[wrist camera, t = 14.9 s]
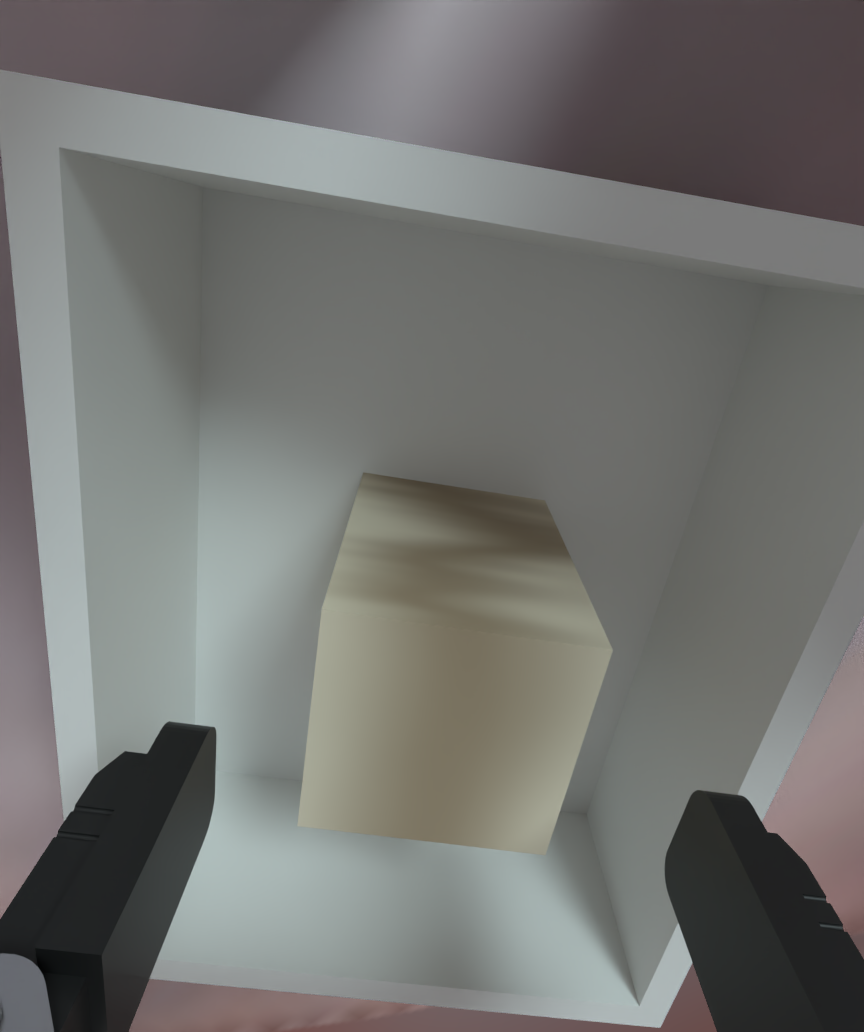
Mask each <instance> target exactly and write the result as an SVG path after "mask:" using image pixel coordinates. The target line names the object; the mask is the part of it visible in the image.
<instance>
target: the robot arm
mask: <svg viewBox="0 0 864 1032" xmlns="http://www.w3.org/2000/svg"><path fill="white" fill-rule="evenodd" d="M215 775H216V729H215V727H210V726H203V725H195V724H187V723H179V722H171V721H169V722H167V723H165V725H164V726H163V727H162V729H161V730H160V732H159V734H158V736H157V737H156V739H155V741H154V743H153V744H152V746H151V748H150V749H149V751H148V753H147V754H144V753H136V752H128V751H124V752H123V753H122V754H121V755H119V756H118V757H117V758H115V759H114V760H113V761H112V762H110V763H109V764H108V765H107V766H105V767H104V768H103V769H102V770H100V771H99V772H98V773H97V774H95V775H94V777H93V778H92V780H91V781H90V783H89V784H88V786H87V787H86V789H85V791H84V792H83V794H82V795H81V797H80V798H79V800H78V801H77V803H76V804H75V808H74V810H73V811H71V812H70V813H69V815H68V817H67V818H66V820H65V821H64V823H63V824H62V826H61V827H60V829H59V830H58V834H57V837H56V838H55V837H54V838H53V839H52V841H51V843H50V844H49V846H48V847H47V849H46V850H45V852H44V853H43V855H42V856H41V858H40V859H39V861H38V862H37V864H36V865H35V867H34V869H33V870H32V872H31V873H30V875H29V876H28V878H27V879H26V881H25V882H24V884H23V885H22V887H21V888H20V890H19V891H18V893H17V894H16V896H15V898H14V899H13V901H12V902H11V904H10V905H9V907H8V908H7V910H6V911H5V913H4V914H3V916H2V917H1V919H0V1032H128V1031H129V1029H130V1026H131V1024H132V1021H133V1019H134V1016H135V1014H136V1011H137V1009H138V1006H139V1003H140V1001H141V998H142V996H143V993H144V991H145V988H146V986H147V983H148V981H149V978H150V976H151V973H152V971H153V968H154V966H155V963H156V961H157V958H158V956H159V953H160V950H161V948H162V945H163V943H164V940H165V938H166V935H167V933H168V930H169V928H170V925H171V923H172V920H173V918H174V915H175V913H176V910H177V908H178V905H179V903H180V900H181V898H182V895H183V892H184V890H185V887H186V885H187V882H188V880H189V877H190V875H191V872H192V870H193V867H194V865H195V862H196V860H197V857H198V855H199V852H200V850H201V847H202V845H203V842H204V839H205V837H206V834H207V831H208V828H209V824H210V820H211V816H212V812H213V806H214V799H215ZM665 882H666V887H667V892H668V895H669V898H670V901H671V903H672V906H673V909H674V912H675V915H676V917H677V920H678V923H679V926H680V929H681V931H682V934H683V937H684V940H685V943H686V946H687V948H688V951H689V954H690V957H691V960H692V962H693V965H694V968H695V970H696V974H697V976H698V979H699V982H700V985H701V988H702V990H703V993H704V996H705V999H706V1001H707V1004H708V1007H709V1010H710V1013H711V1016H712V1018H713V1021H714V1024H715V1027H716V1029H717V1032H864V959H863V958H862V956H861V954H860V952H859V951H858V949H857V947H856V946H855V944H854V942H853V941H852V939H851V937H850V936H849V934H848V932H844V930H843V924H842V922H841V921H840V919H839V917H838V916H837V914H836V912H835V911H834V909H833V907H832V906H831V904H830V903H827V902H826V896H825V894H824V892H823V891H822V889H821V887H820V886H819V884H818V882H817V881H816V879H815V877H814V876H813V874H812V872H811V871H810V869H809V867H808V866H807V864H806V863H805V862H804V861H803V860H802V859H801V858H800V857H799V856H798V855H797V853H796V852H795V851H794V850H793V849H792V848H791V847H790V846H789V845H788V844H787V843H786V842H785V841H784V840H783V839H782V838H781V837H780V836H779V835H778V834H776V833H768V832H767V831H766V829H765V827H764V825H763V824H762V822H761V820H760V818H759V816H758V815H757V813H756V811H755V809H754V808H753V806H752V804H751V803H750V802H749V800H748V799H747V798H745V797H744V796H741V795H734V794H726V793H718V792H710V791H703V790H697V791H695V792H693V793H692V795H691V796H690V798H689V800H688V803H687V805H686V808H685V810H684V812H683V815H682V817H681V819H680V822H679V824H678V827H677V829H676V831H675V834H674V836H673V838H672V841H671V843H670V845H669V848H668V850H667V853H666V858H665Z"/></svg>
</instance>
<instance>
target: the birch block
mask: <svg viewBox="0 0 864 1032" xmlns="http://www.w3.org/2000/svg"><path fill="white" fill-rule="evenodd" d="M612 652H613V649H612V647H611V645H610V642H609V640H608V638H607V636H606V634H605V631H604V629H603V627H602V625H601V623H600V620H599V618H598V616H597V614H596V612H595V609H594V607H593V605H592V603H591V601H590V598H589V596H588V594H587V592H586V590H585V587H584V585H583V583H582V581H581V579H580V576H579V574H578V572H577V570H576V568H575V565H574V563H573V561H572V559H571V557H570V555H569V552H568V550H567V548H566V546H565V544H564V541H563V539H562V537H561V535H560V533H559V530H558V528H557V526H556V524H555V522H554V519H553V517H552V515H551V513H550V511H549V508H548V506H547V504H546V502H545V500H538V499H532V498H525V497H519V496H513V495H506V494H500V493H493V492H487V491H480V490H474V489H467V488H461V487H454V486H448V485H442V484H435V483H429V482H422V481H416V480H409V479H403V478H396V477H390V476H383V475H377V474H371V473H364V472H363V475H362V478H361V482H360V485H359V488H358V492H357V495H356V498H355V501H354V505H353V508H352V511H351V515H350V518H349V521H348V524H347V528H346V531H345V534H344V537H343V541H342V544H341V547H340V551H339V554H338V557H337V560H336V564H335V567H334V570H333V574H332V577H331V580H330V583H329V587H328V590H327V593H326V597H325V600H324V603H323V606H322V611H321V619H320V628H319V637H318V646H317V655H316V664H315V673H314V682H313V691H312V700H311V709H310V717H309V726H308V735H307V744H306V753H305V762H304V771H303V780H302V789H301V798H300V807H299V815H298V824H297V826H300V827H309V828H317V829H326V830H334V831H343V832H351V833H360V834H368V835H377V836H385V837H394V838H402V839H411V840H419V841H428V842H436V843H445V844H453V845H462V846H470V847H479V848H487V849H496V850H505V851H513V852H522V853H530V854H539V855H546V852H547V849H548V846H549V843H550V840H551V837H552V834H553V831H554V828H555V825H556V822H557V819H558V815H559V812H560V809H561V806H562V803H563V800H564V797H565V794H566V791H567V788H568V785H569V782H570V779H571V776H572V773H573V770H574V767H575V764H576V761H577V758H578V755H579V752H580V749H581V746H582V743H583V740H584V737H585V734H586V731H587V728H588V725H589V722H590V718H591V715H592V712H593V709H594V706H595V703H596V700H597V697H598V694H599V691H600V688H601V685H602V682H603V679H604V676H605V673H606V670H607V667H608V664H609V661H610V658H611V655H612Z"/></svg>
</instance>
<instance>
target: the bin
mask: <svg viewBox="0 0 864 1032" xmlns="http://www.w3.org/2000/svg"><path fill="white" fill-rule="evenodd" d="M0 150H1V160H2V171H3V181H4V192H5V203H6V213H7V224H8V234H9V245H10V256H11V266H12V277H13V287H14V298H15V309H16V319H17V330H18V340H19V351H20V362H21V372H22V383H23V393H24V404H25V415H26V425H27V436H28V447H29V457H30V468H31V478H32V489H33V500H34V510H35V521H36V531H37V542H38V553H39V563H40V574H41V584H42V595H43V606H44V616H45V627H46V637H47V648H48V659H49V669H50V680H51V690H52V701H53V712H54V722H55V733H56V743H57V754H58V765H59V775H60V786H61V796H62V807H63V818H64V821H65V820H66V818H67V817H68V815H69V813H70V812H71V811H73V810H74V808H75V804H76V803H77V801H78V800H79V798H80V797H81V795H82V794H83V792H84V791H85V789H86V787H87V786H88V784H89V783H90V781H91V780H92V778H93V777H94V775H95V774H97V773H98V772H99V771H100V770H102V769H103V768H104V767H105V766H107V765H108V764H109V763H110V762H112V761H113V760H114V759H115V758H117V757H118V756H119V755H121V754H122V753H123V752H124V751H128V752H136V753H144V754H147V753H148V751H149V749H150V748H151V746H152V744H153V743H154V741H155V739H156V737H157V736H158V734H159V732H160V730H161V729H162V727H163V726H164V725H165V723H167V722H169V721H171V722H179V723H187V724H195V725H203V726H210V727H215V729H216V775H215V799H214V806H213V812H212V816H211V820H210V824H209V828H208V831H207V834H206V837H205V839H204V842H203V845H202V847H201V850H200V852H199V855H198V857H197V860H196V862H195V865H194V867H193V870H192V872H191V875H190V877H189V880H188V882H187V885H186V887H185V890H184V892H183V895H182V898H181V900H180V903H179V905H178V908H177V910H176V913H175V915H174V918H173V920H172V923H171V925H170V928H169V930H168V933H167V935H166V938H165V940H164V943H163V945H162V948H161V950H160V953H159V956H158V958H157V961H156V963H155V966H154V968H153V971H152V973H151V976H150V978H149V979H157V980H168V981H178V982H188V983H199V984H209V985H220V986H230V987H241V988H251V989H261V990H272V991H282V992H293V993H303V994H313V995H324V996H334V997H345V998H355V999H365V1000H376V1001H386V1002H397V1003H407V1004H418V1005H428V1006H438V1007H449V1008H460V1009H470V1010H480V1011H490V1012H501V1013H511V1014H522V1015H532V1016H543V1017H553V1018H563V1019H575V1020H585V1021H595V1022H606V1023H616V1024H626V1025H637V1026H648V1027H657V1028H660V1027H661V1025H662V1023H663V1021H664V1019H665V1017H666V1015H667V1013H668V1011H669V1009H670V1007H671V1005H672V1003H673V1001H674V999H675V997H676V995H677V993H678V991H679V988H680V987H681V985H682V983H683V981H684V979H685V977H686V974H687V972H688V970H689V968H690V966H691V964H692V960H691V957H690V954H689V951H688V948H687V946H686V943H685V940H684V937H683V934H682V931H681V929H680V926H679V923H678V920H677V917H676V915H675V912H674V909H673V906H672V903H671V901H670V898H669V895H668V892H667V887H666V882H665V858H666V853H667V850H668V848H669V845H670V843H671V841H672V838H673V836H674V834H675V831H676V829H677V827H678V824H679V822H680V819H681V817H682V815H683V812H684V810H685V808H686V805H687V803H688V800H689V798H690V796H691V795H692V793H693V792H695V791H697V790H703V791H710V792H718V793H726V794H734V795H741V796H744V797H745V798H747V799H748V800H749V802H750V803H751V804H752V806H753V808H754V809H755V811H756V813H757V815H758V816H759V818H760V820H761V822H762V820H763V818H764V816H765V814H766V812H767V810H768V808H769V806H770V804H771V802H772V800H773V798H774V796H775V794H776V792H777V790H778V788H779V786H780V784H781V782H782V780H783V778H784V776H785V774H786V772H787V770H788V768H789V766H790V764H791V762H792V760H793V757H794V755H795V753H796V751H797V749H798V747H799V745H800V743H801V741H802V739H803V737H804V735H805V733H806V731H807V729H808V727H809V725H810V723H811V721H812V719H813V717H814V715H815V713H816V711H817V709H818V707H819V705H820V703H821V701H822V699H823V697H824V695H825V693H826V691H827V689H828V686H829V684H830V682H831V680H832V678H833V676H834V674H835V672H836V670H837V668H838V666H839V664H840V662H841V660H842V658H843V656H844V654H845V652H846V650H847V648H848V646H849V644H850V642H851V640H852V638H853V636H854V634H855V632H856V630H857V628H858V626H859V624H860V622H861V620H862V618H863V616H864V226H860V225H854V224H849V223H843V222H838V221H832V220H827V219H821V218H816V217H810V216H805V215H799V214H794V213H788V212H783V211H777V210H771V209H766V208H760V207H755V206H749V205H744V204H738V203H733V202H727V201H722V200H716V199H711V198H705V197H700V196H694V195H689V194H683V193H678V192H672V191H667V190H661V189H656V188H650V187H645V186H639V185H634V184H628V183H623V182H617V181H612V180H606V179H601V178H595V177H590V176H584V175H579V174H573V173H568V172H562V171H557V170H551V169H546V168H540V167H535V166H529V165H524V164H518V163H513V162H507V161H502V160H496V159H491V158H485V157H480V156H474V155H469V154H463V153H458V152H452V151H447V150H441V149H436V148H430V147H425V146H419V145H414V144H408V143H403V142H397V141H392V140H386V139H381V138H375V137H370V136H364V135H359V134H353V133H348V132H342V131H336V130H331V129H325V128H320V127H314V126H309V125H303V124H298V123H292V122H287V121H281V120H276V119H270V118H265V117H259V116H254V115H248V114H243V113H237V112H232V111H226V110H221V109H215V108H210V107H204V106H199V105H193V104H188V103H182V102H177V101H171V100H166V99H160V98H155V97H149V96H144V95H138V94H133V93H127V92H122V91H116V90H111V89H105V88H100V87H94V86H89V85H83V84H78V83H72V82H67V81H61V80H56V79H50V78H45V77H39V76H34V75H28V74H23V73H17V72H12V71H6V70H1V69H0ZM363 472H364V473H371V474H377V475H383V476H390V477H396V478H403V479H409V480H416V481H422V482H429V483H435V484H442V485H448V486H454V487H461V488H467V489H474V490H480V491H487V492H493V493H500V494H506V495H513V496H519V497H525V498H532V499H538V500H545V502H546V504H547V506H548V508H549V511H550V513H551V515H552V517H553V519H554V522H555V524H556V526H557V528H558V530H559V533H560V535H561V537H562V539H563V541H564V544H565V546H566V548H567V550H568V552H569V555H570V557H571V559H572V561H573V563H574V565H575V568H576V570H577V572H578V574H579V576H580V579H581V581H582V583H583V585H584V587H585V590H586V592H587V594H588V596H589V598H590V601H591V603H592V605H593V607H594V609H595V612H596V614H597V616H598V618H599V620H600V623H601V625H602V627H603V629H604V631H605V634H606V636H607V638H608V640H609V642H610V645H611V647H612V649H613V652H612V655H611V658H610V661H609V664H608V667H607V670H606V673H605V676H604V679H603V682H602V685H601V688H600V691H599V694H598V697H597V700H596V703H595V706H594V709H593V712H592V715H591V718H590V722H589V725H588V728H587V731H586V734H585V737H584V740H583V743H582V746H581V749H580V752H579V755H578V758H577V761H576V764H575V767H574V770H573V773H572V776H571V779H570V782H569V785H568V788H567V791H566V794H565V797H564V800H563V803H562V806H561V809H560V812H559V815H558V819H557V822H556V825H555V828H554V831H553V834H552V837H551V840H550V843H549V846H548V849H547V852H546V855H539V854H530V853H522V852H513V851H505V850H496V849H487V848H479V847H470V846H462V845H453V844H445V843H436V842H428V841H419V840H411V839H402V838H394V837H385V836H377V835H368V834H360V833H351V832H343V831H334V830H326V829H317V828H309V827H300V826H297V824H298V815H299V807H300V798H301V789H302V780H303V771H304V762H305V753H306V744H307V735H308V726H309V717H310V709H311V700H312V691H313V682H314V673H315V664H316V655H317V646H318V637H319V628H320V619H321V611H322V606H323V603H324V600H325V597H326V593H327V590H328V587H329V583H330V580H331V577H332V574H333V570H334V567H335V564H336V560H337V557H338V554H339V551H340V547H341V544H342V541H343V537H344V534H345V531H346V528H347V524H348V521H349V518H350V515H351V511H352V508H353V505H354V501H355V498H356V495H357V492H358V488H359V485H360V482H361V478H362V475H363Z"/></svg>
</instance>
